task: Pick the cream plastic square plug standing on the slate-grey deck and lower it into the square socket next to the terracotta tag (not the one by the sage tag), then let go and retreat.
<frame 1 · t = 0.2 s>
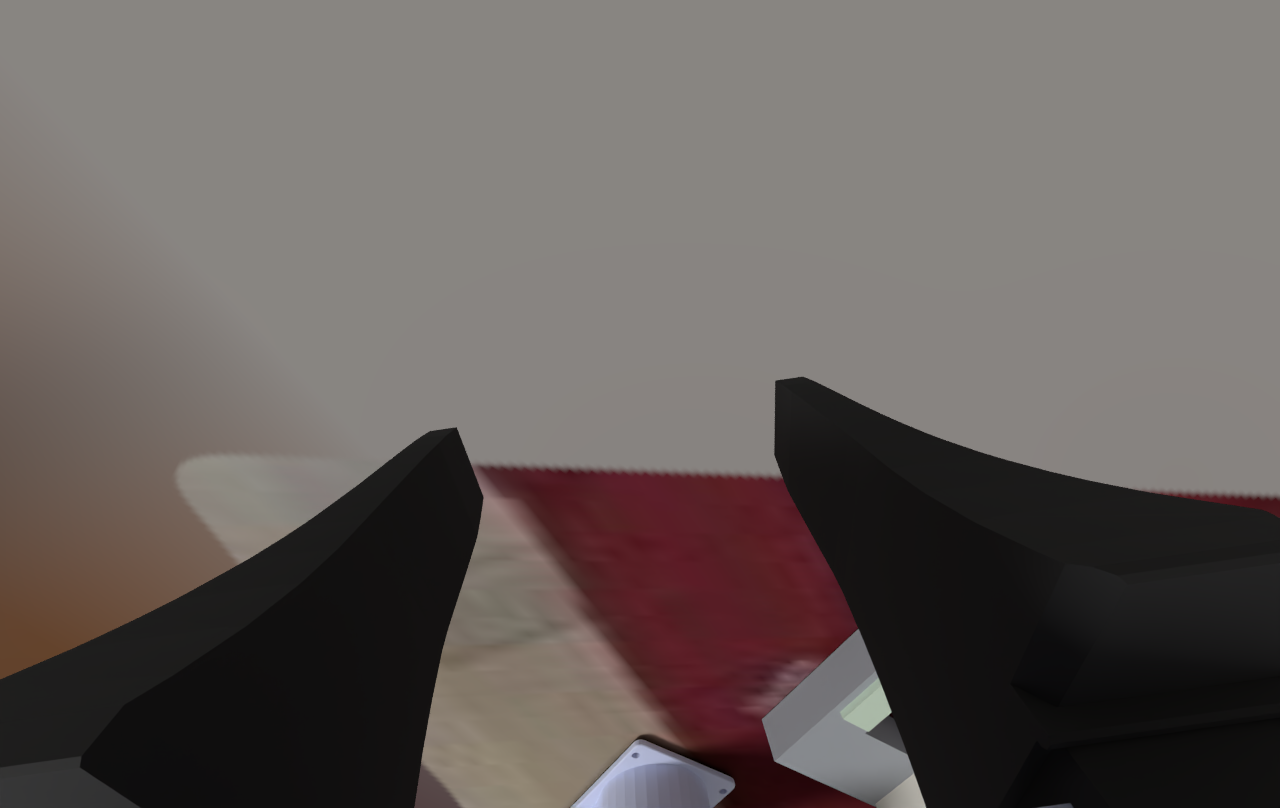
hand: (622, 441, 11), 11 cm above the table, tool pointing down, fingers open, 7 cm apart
plug: (915, 796, 30), point 2 cm above the table, touching deck
deck: (931, 723, 31), on the table
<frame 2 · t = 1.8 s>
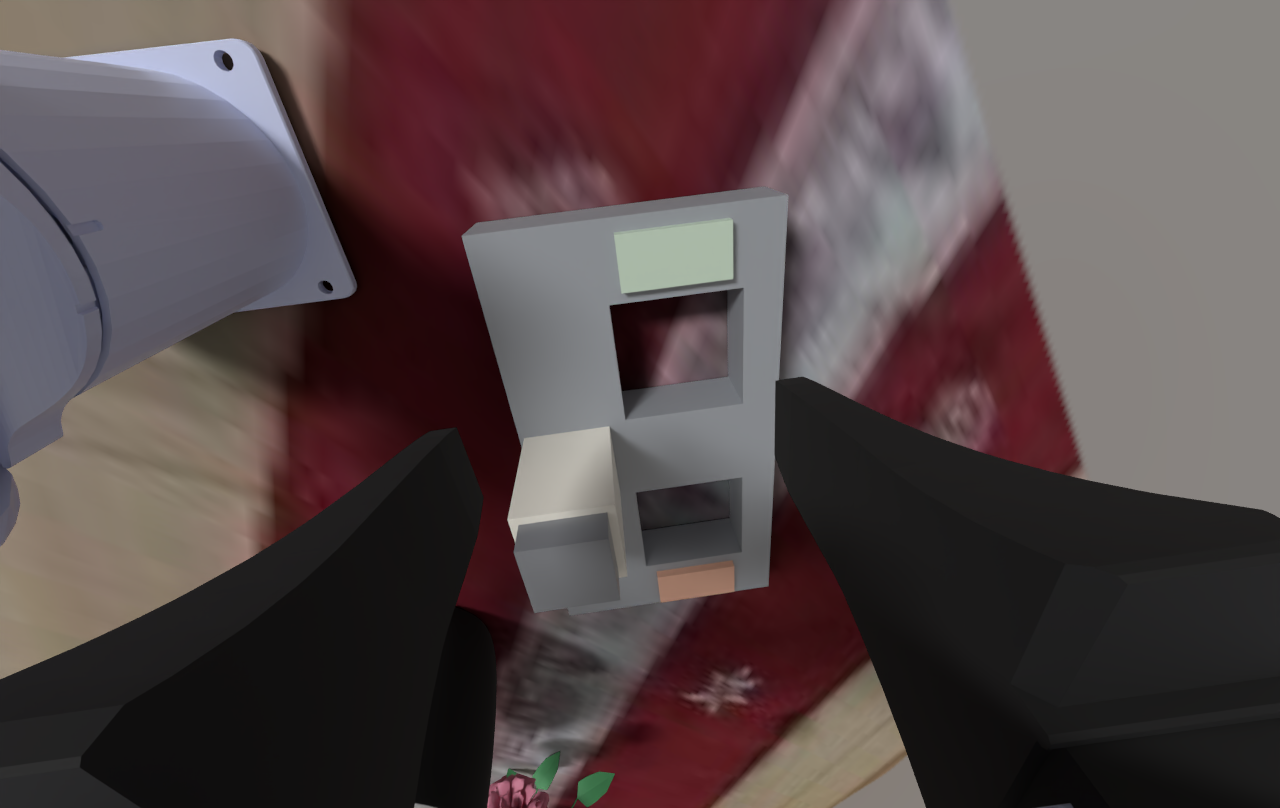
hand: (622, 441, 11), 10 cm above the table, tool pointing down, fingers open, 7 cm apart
plug: (574, 466, 21), point 2 cm above the table, touching deck
flower vase: (533, 798, 42), on the table
deck: (647, 424, 23), on the table
mug: (445, 647, 31), on the table
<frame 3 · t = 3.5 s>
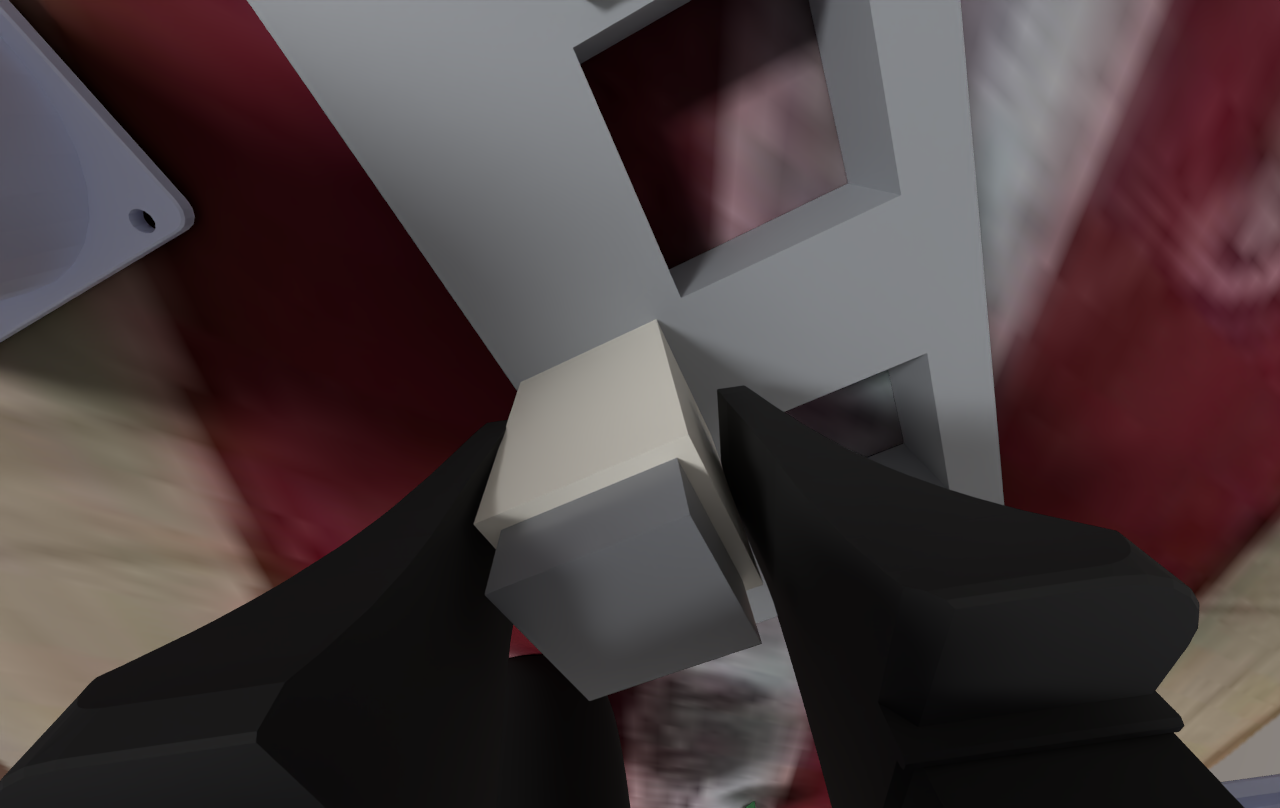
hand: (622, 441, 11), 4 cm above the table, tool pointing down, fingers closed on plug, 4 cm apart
plug: (620, 410, 12), point 3 cm above the table, touching deck, gripper
deck: (727, 317, 14), on the table
mug: (551, 705, 23), on the table
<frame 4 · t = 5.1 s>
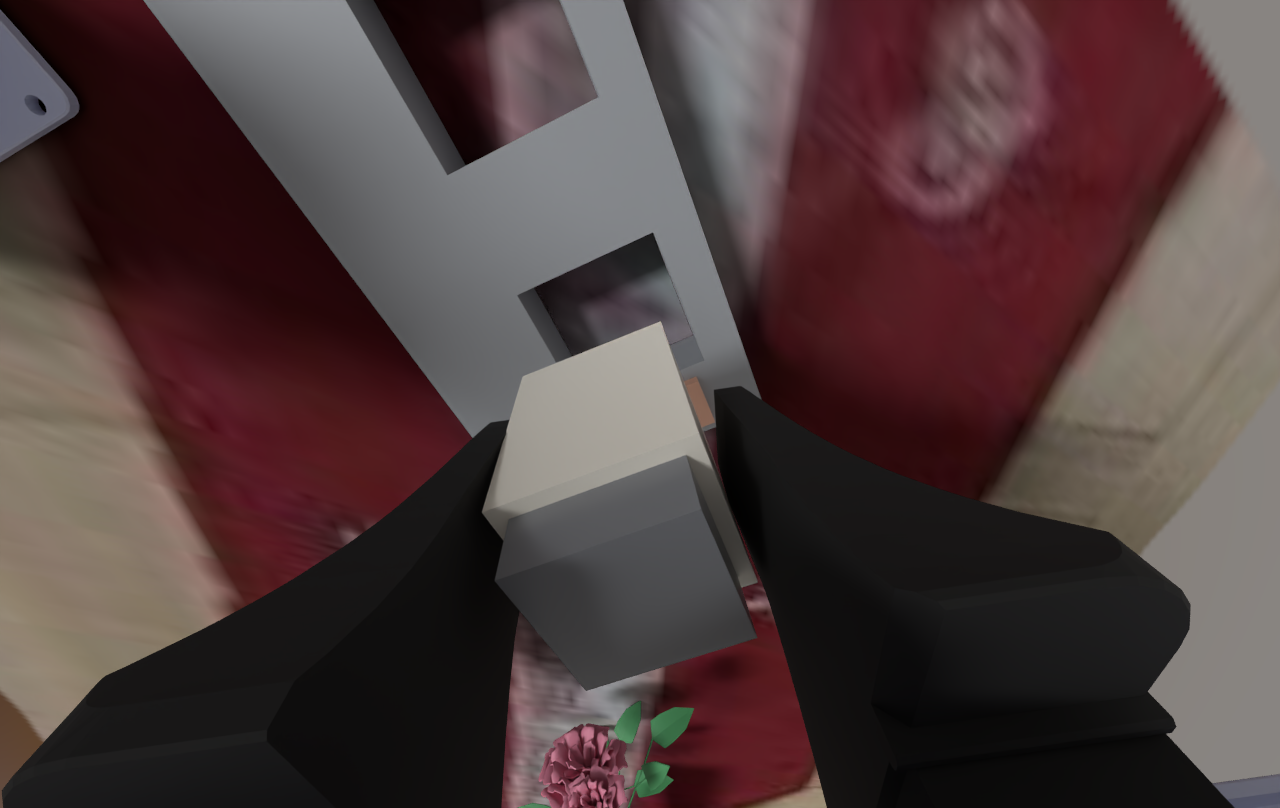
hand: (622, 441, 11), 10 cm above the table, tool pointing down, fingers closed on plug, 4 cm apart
plug: (619, 408, 12), point 8 cm above the table, touching gripper
flower vase: (629, 759, 38), on the table
deck: (523, 213, 17), on the table
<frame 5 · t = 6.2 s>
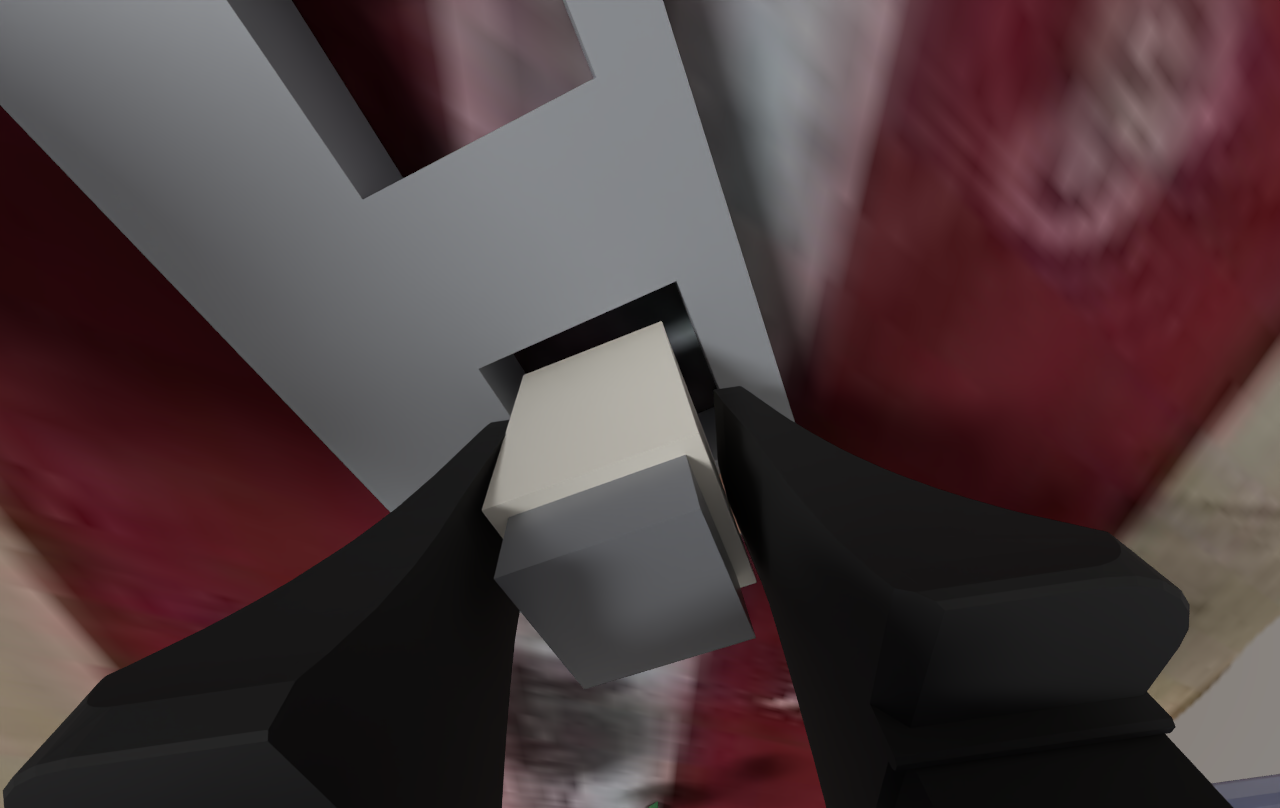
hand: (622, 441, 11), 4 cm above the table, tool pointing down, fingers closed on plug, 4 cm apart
plug: (619, 408, 12), point 2 cm above the table, touching gripper
deck: (490, 247, 12), on the table
when the fingers open (3 cm above the table, at t = 6.9 s): plug drops 2 cm, resting in deck.
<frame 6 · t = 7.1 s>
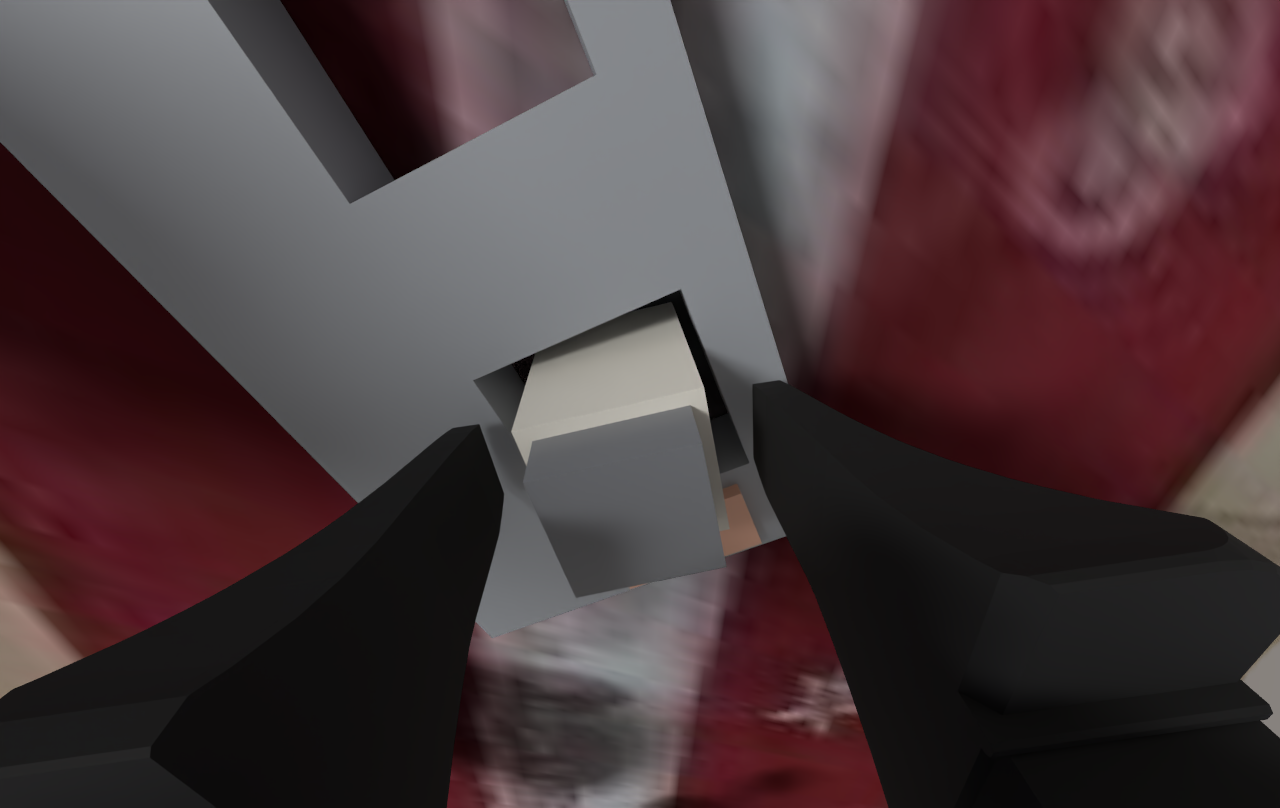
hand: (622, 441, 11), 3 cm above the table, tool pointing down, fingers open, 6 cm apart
plug: (622, 375, 14), resting in deck
deck: (486, 252, 12), on the table
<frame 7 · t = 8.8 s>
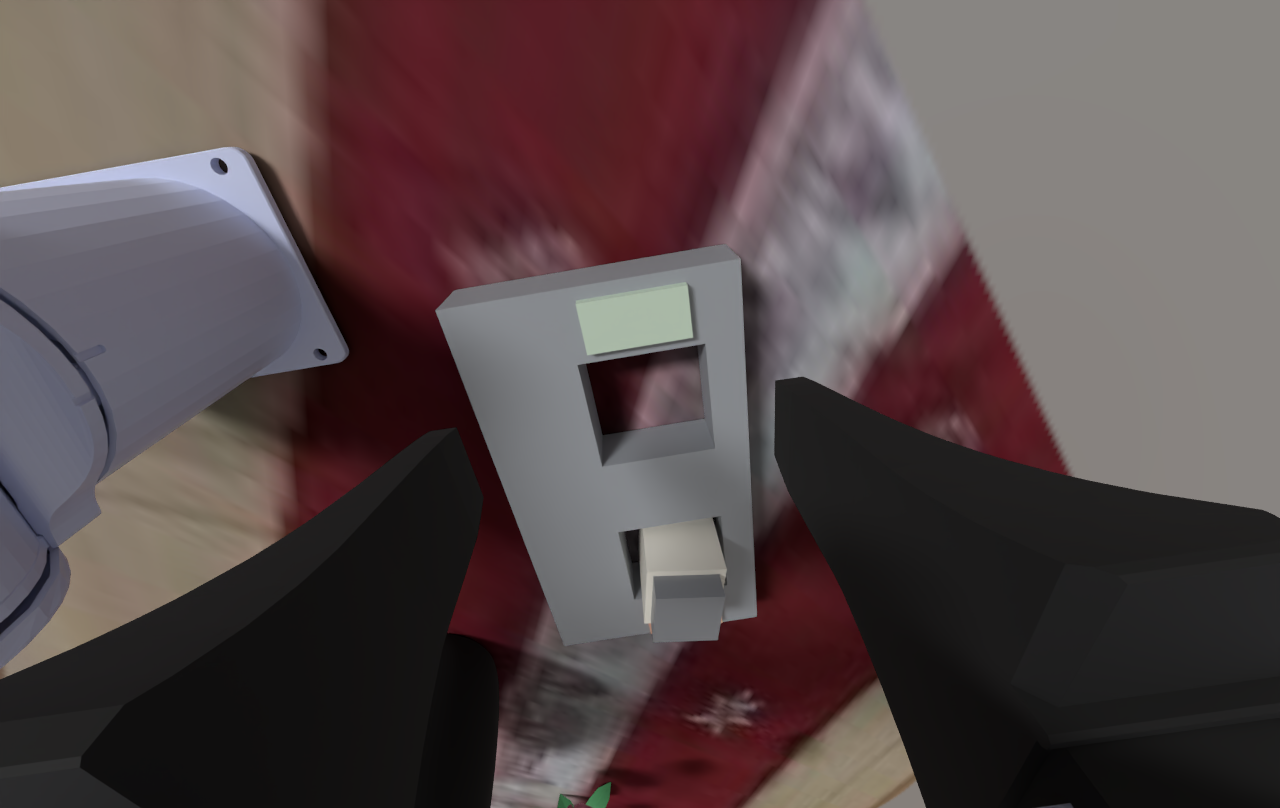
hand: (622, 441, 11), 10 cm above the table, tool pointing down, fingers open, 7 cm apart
plug: (671, 523, 26), resting in deck
deck: (629, 464, 24), on the table
mug: (453, 672, 32), on the table
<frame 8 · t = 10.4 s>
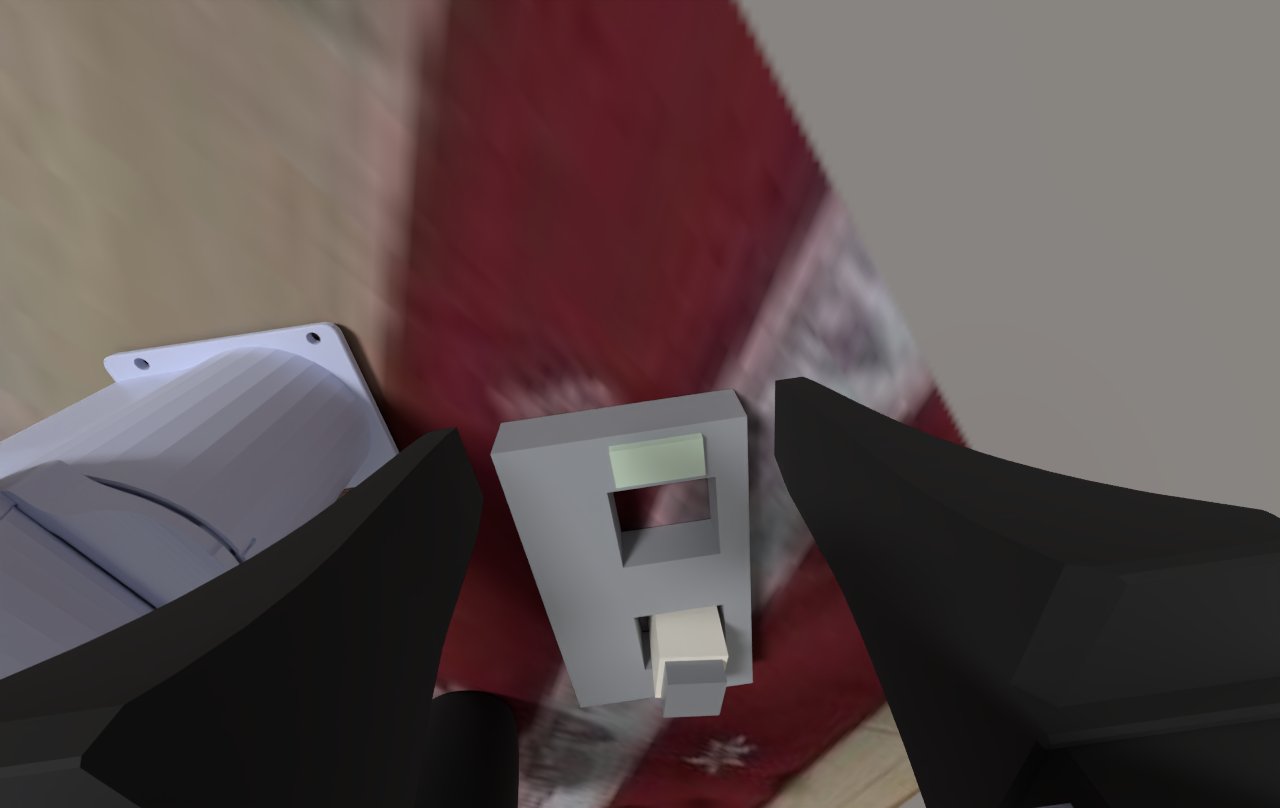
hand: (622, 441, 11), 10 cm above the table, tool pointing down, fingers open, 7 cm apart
plug: (678, 600, 30), resting in deck
deck: (643, 554, 27), on the table
mug: (474, 723, 35), on the table
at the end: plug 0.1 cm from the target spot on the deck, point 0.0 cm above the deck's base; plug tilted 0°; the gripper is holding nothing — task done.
